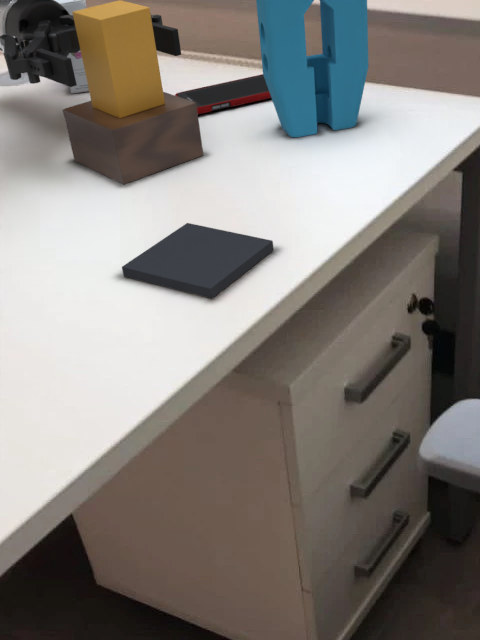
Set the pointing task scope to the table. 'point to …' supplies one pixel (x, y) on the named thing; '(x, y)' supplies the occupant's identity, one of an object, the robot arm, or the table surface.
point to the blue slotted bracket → (314, 63)
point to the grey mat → (198, 259)
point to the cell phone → (227, 94)
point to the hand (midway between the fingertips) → (125, 57)
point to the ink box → (74, 2)
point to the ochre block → (119, 57)
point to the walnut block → (134, 138)
